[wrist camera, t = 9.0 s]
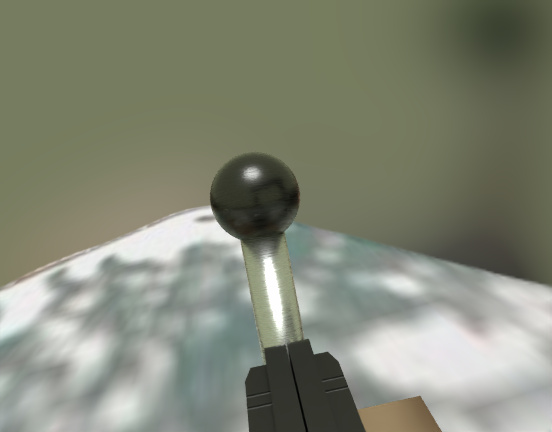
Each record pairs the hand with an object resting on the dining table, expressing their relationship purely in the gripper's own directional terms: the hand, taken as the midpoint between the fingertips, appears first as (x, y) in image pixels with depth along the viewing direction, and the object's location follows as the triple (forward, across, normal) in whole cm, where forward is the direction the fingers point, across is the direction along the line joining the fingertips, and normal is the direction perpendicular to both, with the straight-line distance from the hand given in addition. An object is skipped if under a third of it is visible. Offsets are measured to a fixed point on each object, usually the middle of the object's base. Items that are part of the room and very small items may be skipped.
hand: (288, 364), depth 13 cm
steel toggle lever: (-3, 0, +9) cm, 9 cm away
